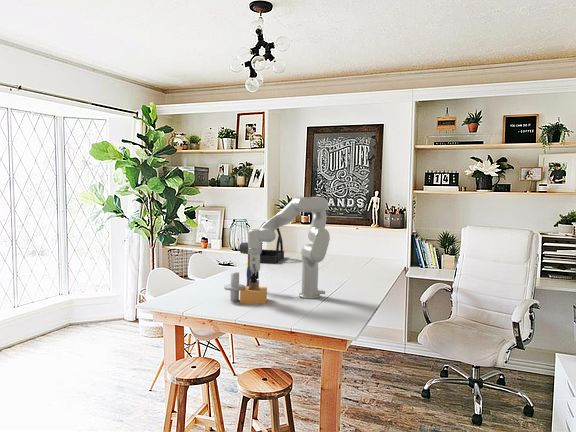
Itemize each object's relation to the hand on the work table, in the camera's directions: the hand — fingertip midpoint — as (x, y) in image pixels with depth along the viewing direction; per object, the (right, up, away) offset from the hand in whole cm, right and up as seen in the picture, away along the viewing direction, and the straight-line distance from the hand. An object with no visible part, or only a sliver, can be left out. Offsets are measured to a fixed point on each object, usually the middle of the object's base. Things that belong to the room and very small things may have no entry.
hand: (254, 280), depth 264 cm
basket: (+2, -2, +139) cm, 139 cm away
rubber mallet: (-6, -10, +28) cm, 30 cm away
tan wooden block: (-1, -12, +1) cm, 12 cm away
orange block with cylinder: (-6, -12, +1) cm, 13 cm away
